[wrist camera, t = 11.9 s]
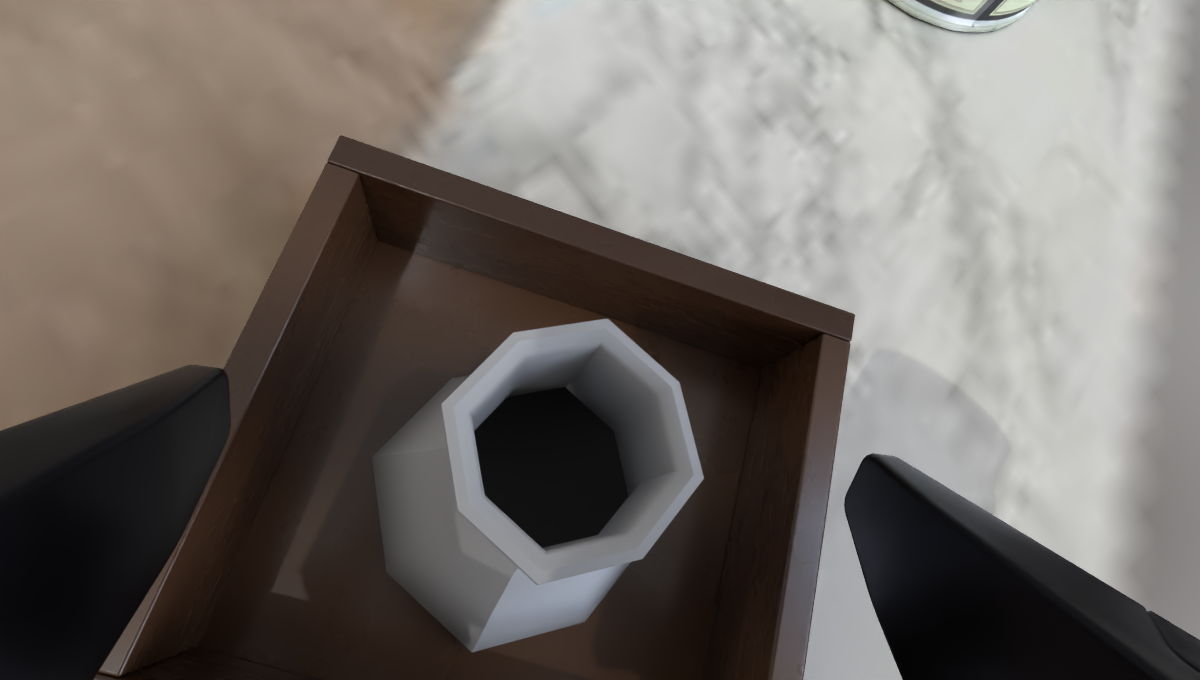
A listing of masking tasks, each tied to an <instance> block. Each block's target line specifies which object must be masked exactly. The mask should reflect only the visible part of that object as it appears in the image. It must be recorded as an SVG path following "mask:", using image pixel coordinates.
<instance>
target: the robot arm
mask: <svg viewBox="0 0 1200 680" xmlns="http://www.w3.org/2000/svg"><path fill="white" fill-rule="evenodd" d="M230 429H231V412H230V393H229V379H228V376H227V373H226V372H225V371H224V370H223V369H220V368H214V367H207V366H199V365H188V366H184V367H182V368H179V369H176V370H173V371H170V372H167V373H165V374H162V375H159V376H156V377H153V378H150V379H147V380H145V381H142V382H139V383H136V384H133V385H130V386H127V387H125V388H122V389H119V390H116V391H113V392H110V393H107V394H105V395H102V396H99V397H96V398H93V399H90V400H87V401H85V402H82V403H79V404H76V405H73V406H70V407H68V408H65V409H62V410H59V411H56V412H53V413H50V414H48V415H45V416H42V417H39V418H36V419H33V420H30V421H28V422H25V423H22V424H19V425H16V426H13V427H10V428H8V429H5V430H2V431H0V680H94V678H95V676H96V675H97V673H98V672H99V670H100V668H101V667H102V665H103V664H104V662H105V660H106V659H107V657H108V656H109V654H110V652H111V651H112V649H113V648H114V646H115V644H116V643H117V641H118V640H119V638H120V636H121V635H122V633H123V632H124V630H125V628H126V627H127V625H128V624H129V622H130V620H131V619H132V617H133V616H134V614H135V612H136V611H137V609H138V608H139V606H140V604H141V603H142V601H143V600H144V598H145V596H146V595H147V593H148V592H149V590H150V589H151V587H152V585H153V584H154V582H155V581H156V579H157V577H158V576H159V574H160V573H161V571H162V569H163V568H164V566H165V565H166V563H167V561H168V560H169V558H170V556H171V555H172V553H173V551H174V550H175V548H176V546H177V545H178V543H179V541H180V539H181V537H182V535H183V533H184V531H185V529H186V527H187V525H188V523H189V521H190V519H191V517H192V515H193V513H194V511H195V508H196V506H197V504H198V502H199V500H200V498H201V496H202V494H203V491H204V489H205V487H206V485H207V483H208V481H209V479H210V477H211V474H212V472H213V470H214V468H215V466H216V464H217V462H218V460H219V457H220V455H221V453H222V451H223V449H224V447H225V445H226V442H227V440H228V437H229V434H230ZM844 507H845V514H846V517H847V520H848V524H849V527H850V531H851V534H852V537H853V541H854V544H855V548H856V551H857V555H858V558H859V561H860V565H861V568H862V572H863V575H864V578H865V582H866V585H867V589H868V592H869V595H870V598H871V601H872V604H873V607H874V609H875V612H876V615H877V617H878V620H879V622H880V625H881V627H882V630H883V632H884V635H885V637H886V640H887V642H888V645H889V647H890V650H891V652H892V654H893V657H894V659H895V662H896V664H897V667H898V669H899V672H900V674H901V677H902V679H903V680H1200V640H1199V639H1197V638H1195V637H1194V636H1192V635H1190V634H1189V633H1187V632H1185V631H1183V630H1182V629H1180V628H1179V627H1177V626H1175V625H1173V624H1172V623H1170V622H1169V621H1167V620H1165V619H1164V618H1162V617H1160V616H1159V615H1157V614H1155V613H1154V612H1152V611H1146V609H1145V608H1144V607H1143V606H1142V605H1140V604H1139V603H1137V602H1135V601H1134V600H1132V599H1131V598H1129V597H1127V596H1126V595H1124V594H1122V593H1121V592H1119V591H1117V590H1116V589H1114V588H1112V587H1111V586H1109V585H1107V584H1106V583H1104V582H1102V581H1101V580H1099V579H1097V578H1096V577H1094V576H1093V575H1091V574H1089V573H1088V572H1086V571H1084V570H1083V569H1081V568H1079V567H1078V566H1076V565H1074V564H1073V563H1071V562H1069V561H1068V560H1066V559H1064V558H1063V557H1061V556H1059V555H1058V554H1056V553H1055V552H1053V551H1051V550H1050V549H1048V548H1046V547H1045V546H1043V545H1041V544H1040V543H1038V542H1036V541H1035V540H1033V539H1031V538H1030V537H1028V536H1026V535H1025V534H1023V533H1021V532H1020V531H1018V530H1016V529H1015V528H1013V527H1012V526H1010V525H1008V524H1007V523H1005V522H1003V521H1002V520H1000V519H998V518H997V517H995V516H993V515H992V514H990V513H988V512H987V511H985V510H983V509H982V508H980V507H978V506H977V505H975V504H974V503H972V502H970V501H969V500H967V499H965V498H964V497H962V496H960V495H959V494H957V493H955V492H954V491H952V490H950V489H949V488H947V487H945V486H944V485H942V484H940V483H939V482H937V481H936V480H934V479H932V478H931V477H929V476H927V475H926V474H924V473H922V472H921V471H919V470H917V469H916V468H914V467H912V466H911V465H909V464H907V463H906V462H904V461H902V460H901V459H899V458H897V457H894V456H889V455H881V454H870V455H867V456H866V457H865V458H864V459H863V461H862V462H861V464H860V466H859V469H858V471H857V473H856V475H855V477H854V479H853V481H852V483H851V485H850V487H849V489H848V492H847V494H846V497H845V504H844Z"/></svg>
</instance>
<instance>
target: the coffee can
mask: <svg viewBox="0 0 1200 680" xmlns="http://www.w3.org/2000/svg"><path fill="white" fill-rule="evenodd" d="M889 1H890V2H891V3H893V4H894V5H896V6H897V7H899V8H900V9H902V10H904V11H905V12H907V13H909V14H910V15H912V16H914V17H915V18H918V19H921V20H924V21H926V22H929V23H931V24H933V25H936V26H939V27H943V28H946V29H949V30H953V31H963V32H988V31H995V30H997V29H1000V28H1003V27H1005V26H1007V25H1010V24H1011V23H1013V22H1015V21H1016V20H1018V19H1019V18H1020V17H1021V16H1023V15H1024V14H1025V13H1026V12H1027V11H1028V9H1029V8H1030V7H1031V5H1032V4H1033V3H1034V2H1035V1H1036V0H889Z"/></svg>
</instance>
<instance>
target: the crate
mask: <svg viewBox="0 0 1200 680" xmlns="http://www.w3.org/2000/svg"><path fill="white" fill-rule="evenodd" d="M854 318H855V315H854V314H852V313H850V312H847V311H844V310H841V309H838V308H835V307H832V306H830V305H827V304H824V303H821V302H818V301H815V300H812V299H809V298H807V297H804V296H801V295H798V294H795V293H792V292H789V291H786V290H784V289H781V288H778V287H775V286H772V285H769V284H766V283H764V282H761V281H758V280H755V279H752V278H749V277H746V276H743V275H741V274H738V273H735V272H732V271H729V270H726V269H723V268H720V267H718V266H715V265H712V264H709V263H706V262H703V261H700V260H698V259H695V258H692V257H689V256H686V255H683V254H680V253H677V252H675V251H672V250H669V249H666V248H663V247H660V246H657V245H654V244H652V243H649V242H646V241H643V240H640V239H637V238H634V237H632V236H629V235H626V234H623V233H620V232H617V231H614V230H611V229H609V228H606V227H603V226H600V225H597V224H594V223H591V222H588V221H586V220H583V219H580V218H577V217H574V216H571V215H568V214H565V213H563V212H560V211H557V210H554V209H551V208H548V207H545V206H543V205H540V204H537V203H534V202H531V201H528V200H525V199H522V198H520V197H517V196H514V195H511V194H508V193H505V192H502V191H499V190H497V189H494V188H491V187H488V186H485V185H482V184H479V183H477V182H474V181H471V180H468V179H465V178H462V177H459V176H456V175H454V174H451V173H448V172H445V171H442V170H439V169H436V168H433V167H431V166H428V165H425V164H422V163H419V162H416V161H413V160H411V159H408V158H405V157H402V156H399V155H396V154H393V153H390V152H388V151H385V150H382V149H379V148H376V147H373V146H370V145H367V144H365V143H362V142H359V141H356V140H353V139H350V138H347V137H345V136H340V137H339V139H338V141H337V143H336V145H335V147H334V149H333V151H332V153H331V155H330V157H329V159H328V163H327V164H326V165H325V167H324V169H323V171H322V173H321V175H320V177H319V179H318V181H317V183H316V185H315V187H314V189H313V191H312V193H311V195H310V197H309V199H308V201H307V203H306V205H305V207H304V209H303V211H302V213H301V215H300V217H299V219H298V221H297V223H296V225H295V227H294V229H293V231H292V233H291V235H290V237H289V239H288V241H287V243H286V245H285V247H284V249H283V251H282V253H281V255H280V257H279V259H278V261H277V263H276V265H275V267H274V269H273V271H272V273H271V275H270V277H269V279H268V281H267V283H266V285H265V287H264V289H263V291H262V293H261V295H260V297H259V299H258V301H257V303H256V305H255V307H254V309H253V311H252V313H251V315H250V317H249V319H248V321H247V323H246V325H245V327H244V329H243V331H242V333H241V335H240V337H239V339H238V341H237V343H236V345H235V347H234V349H233V351H232V353H231V355H230V357H229V359H228V361H227V363H226V365H225V367H224V369H223V370H224V371H225V372H226V373H227V376H228V379H229V393H230V412H231V429H230V434H229V437H228V440H227V442H226V445H225V447H224V449H223V451H222V453H221V455H220V457H219V460H218V462H217V464H216V466H215V468H214V470H213V472H212V474H211V477H210V479H209V481H208V483H207V485H206V487H205V489H204V491H203V494H202V496H201V498H200V500H199V502H198V504H197V506H196V508H195V511H194V513H193V515H192V517H191V519H190V521H189V523H188V525H187V527H186V529H185V531H184V533H183V535H182V537H181V539H180V541H179V543H178V545H177V546H176V548H175V550H174V551H173V553H172V555H171V556H170V558H169V560H168V561H167V563H166V565H165V566H164V568H163V569H162V571H161V573H160V574H159V576H158V577H157V579H156V581H155V582H154V584H153V585H152V587H151V589H150V590H149V592H148V593H147V595H146V596H145V598H144V600H143V601H142V603H141V604H140V606H139V608H138V609H137V611H136V612H135V614H134V616H133V617H132V619H131V620H130V622H129V624H128V625H127V627H126V628H125V630H124V632H123V633H122V635H121V636H120V638H119V640H118V641H117V643H116V644H115V646H114V648H113V649H112V651H111V652H110V654H109V656H108V657H107V659H106V660H105V662H104V664H103V665H102V667H101V668H100V670H99V672H98V673H97V675H96V676H95V678H94V680H803V676H804V669H805V662H806V655H807V648H808V641H809V634H810V626H811V619H812V612H813V605H814V598H815V591H816V584H817V577H818V570H819V563H820V556H821V548H822V541H823V534H824V527H825V520H826V513H827V506H828V499H829V492H830V485H831V478H832V470H833V463H834V456H835V449H836V442H837V435H838V428H839V421H840V414H841V407H842V400H843V392H844V385H845V378H846V371H847V364H848V357H849V350H850V343H849V342H850V341H851V339H852V332H853V325H854ZM601 319H609V320H610V321H611V322H612V323H613V324H614V325H616V326H617V327H618V328H619V329H620V330H621V331H622V332H623V333H625V334H626V335H627V336H628V337H629V338H630V339H631V340H632V341H634V342H635V343H636V344H637V345H638V346H639V347H640V348H641V349H643V350H644V351H645V352H646V353H647V354H648V355H649V356H650V357H652V358H653V359H654V360H655V361H656V362H657V363H658V364H659V365H661V366H662V367H663V368H664V369H665V370H666V371H667V372H668V373H670V374H671V375H672V376H673V377H674V378H675V379H676V380H677V381H679V382H680V386H681V390H682V394H683V398H684V402H685V406H686V410H687V414H688V418H689V422H690V425H691V429H692V433H693V437H694V441H695V445H696V449H697V453H698V457H699V461H700V465H701V469H702V473H703V477H704V479H703V480H702V482H701V483H700V484H699V486H698V487H697V488H696V490H695V491H694V492H693V494H692V495H691V496H690V497H689V499H688V500H687V501H686V503H685V504H684V505H683V507H682V508H681V509H680V511H679V512H678V513H677V514H676V516H675V517H674V518H673V520H672V521H671V522H670V524H669V525H668V526H667V528H666V529H665V530H664V532H663V533H662V534H661V535H660V537H659V538H658V539H657V541H656V542H655V543H654V545H653V546H652V547H651V549H650V550H649V551H648V553H647V554H646V555H645V556H644V558H643V559H641V560H637V561H632V562H631V563H630V564H629V565H628V567H627V568H626V569H625V570H624V572H623V573H622V574H621V576H620V577H619V578H618V580H617V581H616V582H615V583H614V585H613V586H612V587H611V589H610V590H609V591H608V593H607V594H606V595H605V597H604V598H603V599H602V600H601V602H600V603H599V604H598V606H597V607H596V608H595V610H594V611H593V612H592V613H591V615H590V616H589V617H588V619H587V620H586V621H585V622H583V623H580V624H576V625H572V626H568V627H565V628H561V629H557V630H554V631H550V632H546V633H542V634H539V635H535V636H531V637H528V638H524V639H520V640H516V641H513V642H509V643H505V644H502V645H498V646H494V647H490V648H487V649H483V650H479V651H476V652H471V651H470V650H469V649H468V648H466V647H465V646H464V645H463V644H462V643H461V642H460V641H459V640H458V639H457V638H456V637H455V636H454V635H453V634H452V633H450V632H449V631H448V630H447V629H446V628H445V627H444V626H443V625H442V624H441V623H440V622H439V621H438V620H437V619H436V618H435V617H433V616H432V615H431V614H430V613H429V612H428V611H427V610H426V609H425V608H424V607H423V606H422V605H421V604H420V603H419V602H418V601H416V600H415V599H414V598H413V597H412V596H411V595H410V594H409V593H408V592H407V591H406V590H405V589H404V588H403V587H402V586H400V585H399V584H398V583H397V582H396V581H395V580H394V579H393V578H392V577H391V576H390V575H389V574H388V573H387V572H386V566H385V558H384V550H383V542H382V534H381V526H380V518H379V510H378V502H377V494H376V486H375V478H374V470H373V462H372V456H373V455H374V454H375V453H376V452H377V451H378V450H379V449H381V448H382V447H383V446H384V445H385V444H386V443H387V442H388V441H389V440H390V439H391V438H392V437H393V436H394V435H395V434H396V433H397V432H398V431H399V430H400V429H401V428H402V427H403V426H404V425H405V424H406V423H407V422H408V421H409V420H410V419H411V418H412V417H413V416H414V415H415V414H416V413H417V412H418V411H419V410H420V409H421V408H422V407H423V406H424V405H425V404H426V403H427V402H428V401H429V400H430V399H431V398H432V397H433V396H434V395H435V394H436V393H437V392H438V391H439V390H440V389H441V388H442V387H443V386H445V385H446V384H447V383H448V382H449V381H450V380H451V379H452V378H457V377H463V376H469V375H471V374H472V373H473V372H474V371H475V370H476V369H477V368H478V367H479V366H480V365H481V364H482V363H483V362H484V361H485V360H486V359H487V358H488V357H489V356H490V355H491V354H492V353H493V352H494V351H495V350H496V349H497V348H498V347H499V346H500V345H501V344H502V343H503V342H504V341H505V340H506V339H507V338H508V337H509V336H510V335H511V334H512V333H514V332H520V331H527V330H534V329H540V328H547V327H554V326H561V325H567V324H574V323H581V322H588V321H594V320H601Z"/></svg>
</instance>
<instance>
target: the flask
mask: <svg viewBox="0 0 1200 680" xmlns="http://www.w3.org/2000/svg"><path fill="white" fill-rule="evenodd" d="M372 462H373V470H374V478H375V486H376V494H377V502H378V510H379V518H380V526H381V534H382V542H383V550H384V558H385V566H386V572H387V573H388V574H389V575H390V576H391V577H392V578H393V579H394V580H395V581H396V582H397V583H398V584H399V585H400V586H402V587H403V588H404V589H405V590H406V591H407V592H408V593H409V594H410V595H411V596H412V597H413V598H414V599H415V600H416V601H418V602H419V603H420V604H421V605H422V606H423V607H424V608H425V609H426V610H427V611H428V612H429V613H430V614H431V615H432V616H433V617H435V618H436V619H437V620H438V621H439V622H440V623H441V624H442V625H443V626H444V627H445V628H446V629H447V630H448V631H449V632H450V633H452V634H453V635H454V636H455V637H456V638H457V639H458V640H459V641H460V642H461V643H462V644H463V645H464V646H465V647H466V648H468V649H469V650H470V651H471V652H476V651H479V650H483V649H487V648H490V647H494V646H498V645H502V644H505V643H509V642H513V641H516V640H520V639H524V638H528V637H531V636H535V635H539V634H542V633H546V632H550V631H554V630H557V629H561V628H565V627H568V626H572V625H576V624H580V623H583V622H585V621H586V620H587V619H588V617H589V616H590V615H591V613H592V612H593V611H594V610H595V608H596V607H597V606H598V604H599V603H600V602H601V600H602V599H603V598H604V597H605V595H606V594H607V593H608V591H609V590H610V589H611V587H612V586H613V585H614V583H615V582H616V581H617V580H618V578H619V577H620V576H621V574H622V573H623V572H624V570H625V569H626V568H627V567H628V565H629V564H630V563H631V562H632V561H637V560H641V559H643V558H644V556H645V555H646V554H647V553H648V551H649V550H650V549H651V547H652V546H653V545H654V543H655V542H656V541H657V539H658V538H659V537H660V535H661V534H662V533H663V532H664V530H665V529H666V528H667V526H668V525H669V524H670V522H671V521H672V520H673V518H674V517H675V516H676V514H677V513H678V512H679V511H680V509H681V508H682V507H683V505H684V504H685V503H686V501H687V500H688V499H689V497H690V496H691V495H692V494H693V492H694V491H695V490H696V488H697V487H698V486H699V484H700V483H701V482H702V480H703V479H704V477H703V473H702V469H701V465H700V461H699V457H698V453H697V449H696V445H695V441H694V437H693V433H692V429H691V425H690V422H689V418H688V414H687V410H686V406H685V402H684V398H683V394H682V390H681V386H680V382H679V381H677V380H676V379H675V378H674V377H673V376H672V375H671V374H670V373H668V372H667V371H666V370H665V369H664V368H663V367H662V366H661V365H659V364H658V363H657V362H656V361H655V360H654V359H653V358H652V357H650V356H649V355H648V354H647V353H646V352H645V351H644V350H643V349H641V348H640V347H639V346H638V345H637V344H636V343H635V342H634V341H632V340H631V339H630V338H629V337H628V336H627V335H626V334H625V333H623V332H622V331H621V330H620V329H619V328H618V327H617V326H616V325H614V324H613V323H612V322H611V321H610V320H609V319H601V320H594V321H588V322H581V323H574V324H567V325H561V326H554V327H547V328H540V329H534V330H527V331H520V332H514V333H512V334H511V335H510V336H509V337H508V338H507V339H506V340H505V341H504V342H503V343H502V344H501V345H500V346H499V347H498V348H497V349H496V350H495V351H494V352H493V353H492V354H491V355H490V356H489V357H488V358H487V359H486V360H485V361H484V362H483V363H482V364H481V365H480V366H479V367H478V368H477V369H476V370H475V371H474V372H473V373H472V374H471V375H469V376H463V377H457V378H452V379H451V380H450V381H449V382H448V383H447V384H446V385H445V386H443V387H442V388H441V389H440V390H439V391H438V392H437V393H436V394H435V395H434V396H433V397H432V398H431V399H430V400H429V401H428V402H427V403H426V404H425V405H424V406H423V407H422V408H421V409H420V410H419V411H418V412H417V413H416V414H415V415H414V416H413V417H412V418H411V419H410V420H409V421H408V422H407V423H406V424H405V425H404V426H403V427H402V428H401V429H400V430H399V431H398V432H397V433H396V434H395V435H394V436H393V437H392V438H391V439H390V440H389V441H388V442H387V443H386V444H385V445H384V446H383V447H382V448H381V449H379V450H378V451H377V452H376V453H375V454H374V455H373V456H372Z"/></svg>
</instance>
